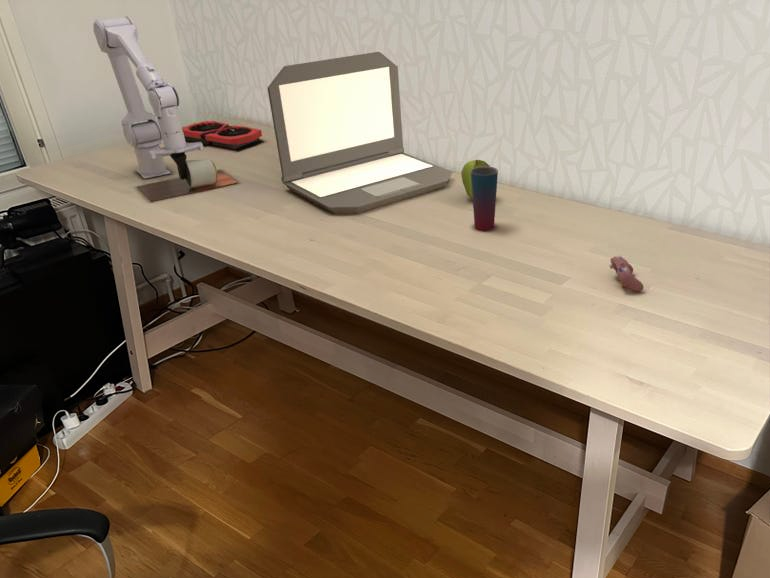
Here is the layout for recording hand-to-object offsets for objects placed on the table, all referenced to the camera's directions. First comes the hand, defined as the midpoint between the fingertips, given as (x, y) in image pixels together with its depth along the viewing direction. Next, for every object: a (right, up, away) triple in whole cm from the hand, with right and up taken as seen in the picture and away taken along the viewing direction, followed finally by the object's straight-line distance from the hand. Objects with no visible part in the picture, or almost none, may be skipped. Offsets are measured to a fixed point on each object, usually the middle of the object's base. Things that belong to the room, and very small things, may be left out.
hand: (184, 178), depth 203 cm
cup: (+88, -19, -24) cm, 93 cm away
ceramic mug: (+3, -1, +4) cm, 5 cm away
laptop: (+56, -2, +2) cm, 56 cm away
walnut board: (-1, -1, +4) cm, 4 cm away
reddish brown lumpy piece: (+119, -37, -50) cm, 134 cm away
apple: (+86, -8, -7) cm, 87 cm away
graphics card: (-6, +24, +42) cm, 48 cm away
